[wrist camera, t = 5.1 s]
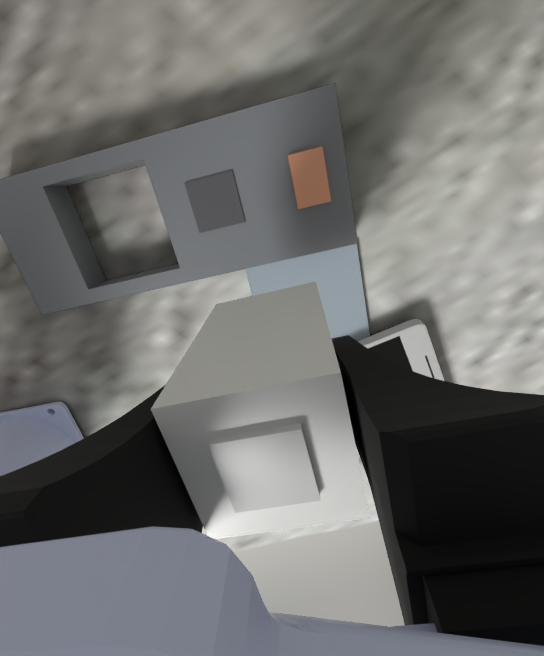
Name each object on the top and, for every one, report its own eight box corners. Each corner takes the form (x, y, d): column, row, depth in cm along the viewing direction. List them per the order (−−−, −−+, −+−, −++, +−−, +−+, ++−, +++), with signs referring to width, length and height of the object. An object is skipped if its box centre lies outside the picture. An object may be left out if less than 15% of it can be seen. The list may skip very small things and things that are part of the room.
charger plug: (243, 388, 15) (207, 548, 8) (216, 304, 14) (146, 414, 7) (334, 371, 15) (372, 526, 8) (315, 281, 13) (342, 377, 7)
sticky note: (270, 362, 22) (270, 364, 22) (245, 267, 20) (245, 268, 20) (370, 344, 22) (371, 346, 21) (355, 242, 19) (356, 243, 19)
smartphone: (195, 406, 23) (192, 415, 23) (418, 315, 20) (425, 322, 19) (245, 475, 26) (243, 486, 25) (449, 404, 23) (456, 414, 22)
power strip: (63, 303, 22) (38, 316, 19) (6, 186, 19) (-29, 186, 17) (351, 238, 19) (359, 244, 17) (330, 94, 17) (336, 80, 15)
